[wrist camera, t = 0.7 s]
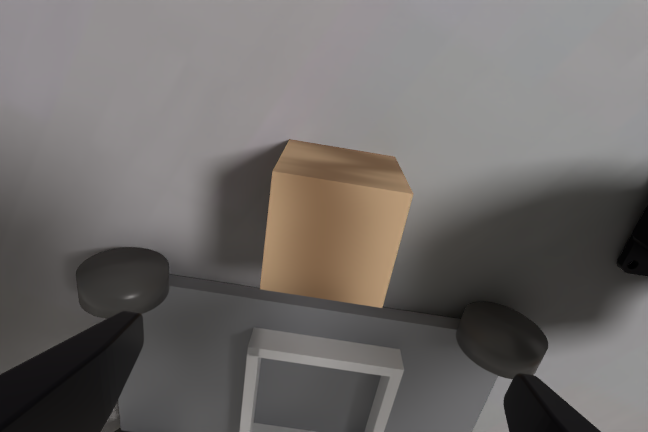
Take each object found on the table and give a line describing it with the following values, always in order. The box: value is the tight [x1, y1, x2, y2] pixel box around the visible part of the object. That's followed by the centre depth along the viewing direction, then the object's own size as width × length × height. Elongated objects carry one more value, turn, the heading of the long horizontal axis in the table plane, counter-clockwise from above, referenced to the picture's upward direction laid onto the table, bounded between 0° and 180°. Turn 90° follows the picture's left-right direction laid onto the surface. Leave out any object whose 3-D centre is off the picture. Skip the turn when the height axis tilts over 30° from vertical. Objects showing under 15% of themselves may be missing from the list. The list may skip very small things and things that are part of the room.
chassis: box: [76, 248, 548, 432], centre depth 22 cm, size 23×15×4 cm, turn 81°
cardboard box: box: [260, 139, 413, 308], centre depth 17 cm, size 5×5×5 cm
